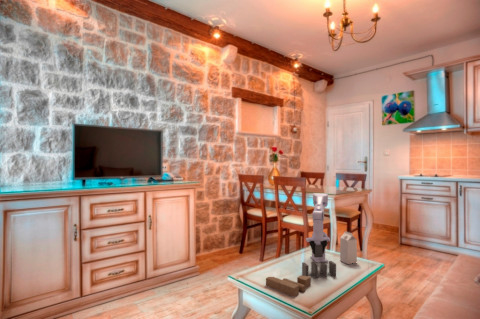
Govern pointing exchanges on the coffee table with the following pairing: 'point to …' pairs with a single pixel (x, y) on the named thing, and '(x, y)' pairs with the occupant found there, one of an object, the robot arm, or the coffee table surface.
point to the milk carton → (348, 248)
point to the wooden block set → (289, 284)
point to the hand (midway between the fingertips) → (318, 253)
